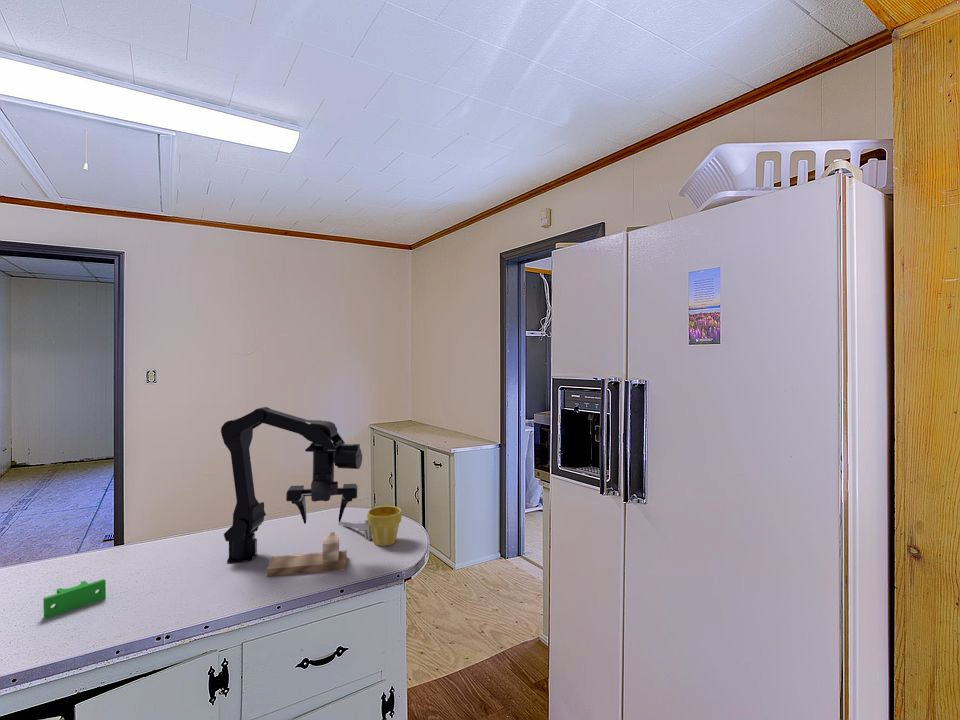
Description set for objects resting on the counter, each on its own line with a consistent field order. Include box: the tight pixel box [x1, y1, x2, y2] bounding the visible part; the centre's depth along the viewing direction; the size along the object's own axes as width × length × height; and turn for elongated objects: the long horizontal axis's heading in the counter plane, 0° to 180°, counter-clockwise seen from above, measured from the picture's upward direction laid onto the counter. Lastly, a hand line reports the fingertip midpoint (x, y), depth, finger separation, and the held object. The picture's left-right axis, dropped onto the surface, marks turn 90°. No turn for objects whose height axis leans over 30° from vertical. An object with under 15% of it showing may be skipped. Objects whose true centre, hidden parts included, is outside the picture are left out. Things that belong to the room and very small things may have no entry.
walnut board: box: [266, 549, 348, 578], centre depth 136 cm, size 20×8×2 cm, turn 103°
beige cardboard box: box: [322, 531, 340, 563], centre depth 139 cm, size 4×9×5 cm, turn 13°
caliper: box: [338, 519, 373, 541], centre depth 162 cm, size 20×1×6 cm, turn 43°
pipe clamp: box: [43, 578, 107, 620], centre depth 115 cm, size 11×4×5 cm, turn 145°
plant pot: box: [366, 505, 403, 547], centre depth 153 cm, size 10×10×10 cm
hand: (322, 522), depth 139 cm, fingers open, 9 cm apart
